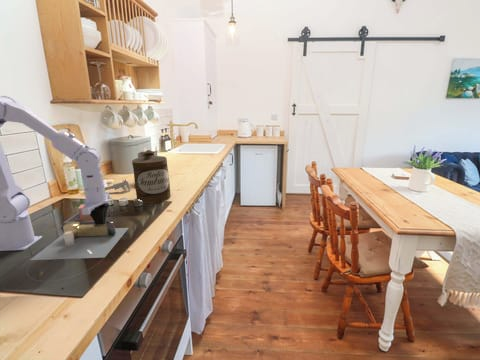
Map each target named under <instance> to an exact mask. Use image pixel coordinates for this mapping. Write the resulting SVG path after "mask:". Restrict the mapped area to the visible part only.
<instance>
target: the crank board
mask: <svg viewBox="0 0 480 360" xmlns="http://www.w3.org/2000/svg"><path fill="white" fill-rule="evenodd" d="M127 230H129V227H115V231H116V234H114V235H111V236H109V235H103V236H80V237H78V238H75V239H74V236H73V232H72V231H68V232H65V233H64V232H63V234H61V235H60V236H59V237H58V238H56V239H55V240H54V241H52V242H51V243H50V244H49V245H47V246H46V247H45V248H43V249H42V250H41V251H40V252H38V253H37V254H36V255H35V256H32V258H31V259H30V261H46V260H49V261H50V260H74V259H75V260H76V259H78V260H79V259H80V260H81V259H102V258H106V257H107V256H108V254H109V253H110V251H112V249H114V247H115V245H117V243H118V242H119V241H120V240H121V238H122V237H123V235H124V234H125V233H126V232H127Z"/></svg>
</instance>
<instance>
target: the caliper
mask: <svg viewBox="0 0 480 360" xmlns="http://www.w3.org/2000/svg"><path fill="white" fill-rule="evenodd" d="M125 186H126V187H125ZM104 188H105V192H106V191H109V190H118V189H120V188H121V189H123V192H127V190H128V191H130V190H131V189H130V188H131V187H130V183H129V181H128V180H126V179H122V182H117V183H114V184H112V185H108V186H104ZM126 188H127V189H126Z"/></svg>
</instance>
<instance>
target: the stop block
mask: <svg viewBox="0 0 480 360" xmlns="http://www.w3.org/2000/svg"><path fill="white" fill-rule="evenodd" d="M84 205H85V203H84V204H80V205H79V206H78V208H77V209H78V212H79V215H80V218H79V221H94V220H93V219H92V217H91V216H90V215H82V208H83V207H84Z"/></svg>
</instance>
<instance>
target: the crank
mask: <svg viewBox="0 0 480 360" xmlns="http://www.w3.org/2000/svg"><path fill="white" fill-rule="evenodd" d="M62 228H63V234H64V233H65V232H68V231H72V232H73V236H74V239H75V238H78V237H80V236H103V235H109V236H111V235H114V234H116V231H115V228H116V225H115V221H114V220H108V221H106V222H105V224H91V225H80V224H79V222H72V223H68V224H65V225H62Z"/></svg>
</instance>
